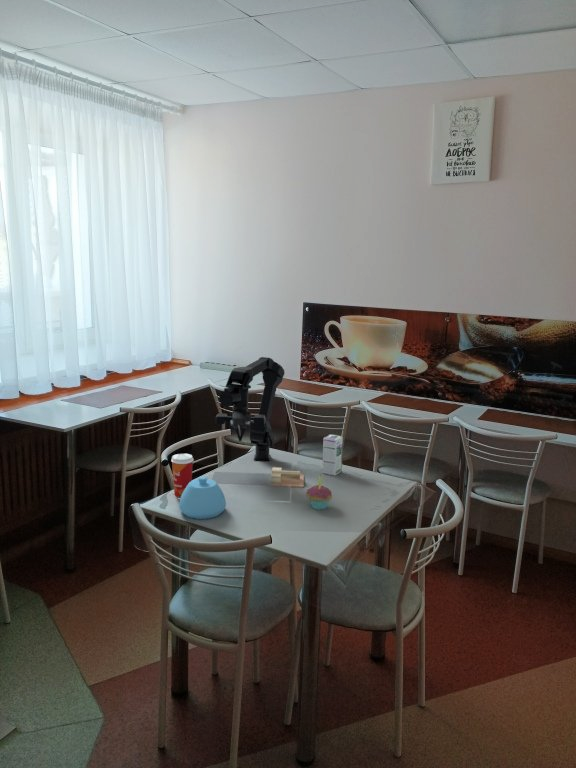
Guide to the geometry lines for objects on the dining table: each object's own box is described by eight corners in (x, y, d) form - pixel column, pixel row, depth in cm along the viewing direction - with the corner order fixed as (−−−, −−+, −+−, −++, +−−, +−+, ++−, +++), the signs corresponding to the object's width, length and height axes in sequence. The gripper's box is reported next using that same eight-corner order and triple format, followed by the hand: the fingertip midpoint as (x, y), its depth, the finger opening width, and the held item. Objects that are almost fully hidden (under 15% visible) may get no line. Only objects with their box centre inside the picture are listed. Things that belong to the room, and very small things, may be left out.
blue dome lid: (185, 523, 195) (185, 488, 193) (175, 505, 209) (174, 472, 207) (231, 517, 201) (231, 483, 199) (218, 500, 215) (218, 467, 212)
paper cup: (170, 491, 220) (169, 453, 217) (192, 490, 223) (191, 452, 220) (173, 500, 213) (172, 460, 210) (195, 498, 215) (195, 459, 212)
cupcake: (332, 512, 207) (333, 477, 205) (306, 511, 207) (307, 477, 204) (330, 501, 215) (331, 468, 213) (305, 501, 215) (306, 468, 213)
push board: (214, 472, 240) (214, 471, 240) (303, 475, 240) (303, 474, 240) (210, 484, 228) (210, 483, 228) (303, 487, 228) (303, 486, 228)
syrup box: (335, 476, 240) (337, 439, 238) (321, 473, 243) (323, 437, 240) (341, 471, 245) (343, 436, 242) (328, 469, 248) (329, 433, 245)
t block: (272, 474, 239) (272, 467, 238) (300, 475, 238) (300, 468, 238) (270, 484, 229) (271, 476, 228) (299, 485, 228) (300, 477, 228)
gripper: (213, 406, 230) (213, 446, 233) (264, 407, 230) (263, 448, 233) (217, 398, 241) (217, 438, 244) (265, 400, 241) (264, 439, 244)
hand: (240, 440), depth 241 cm, fingers closed
